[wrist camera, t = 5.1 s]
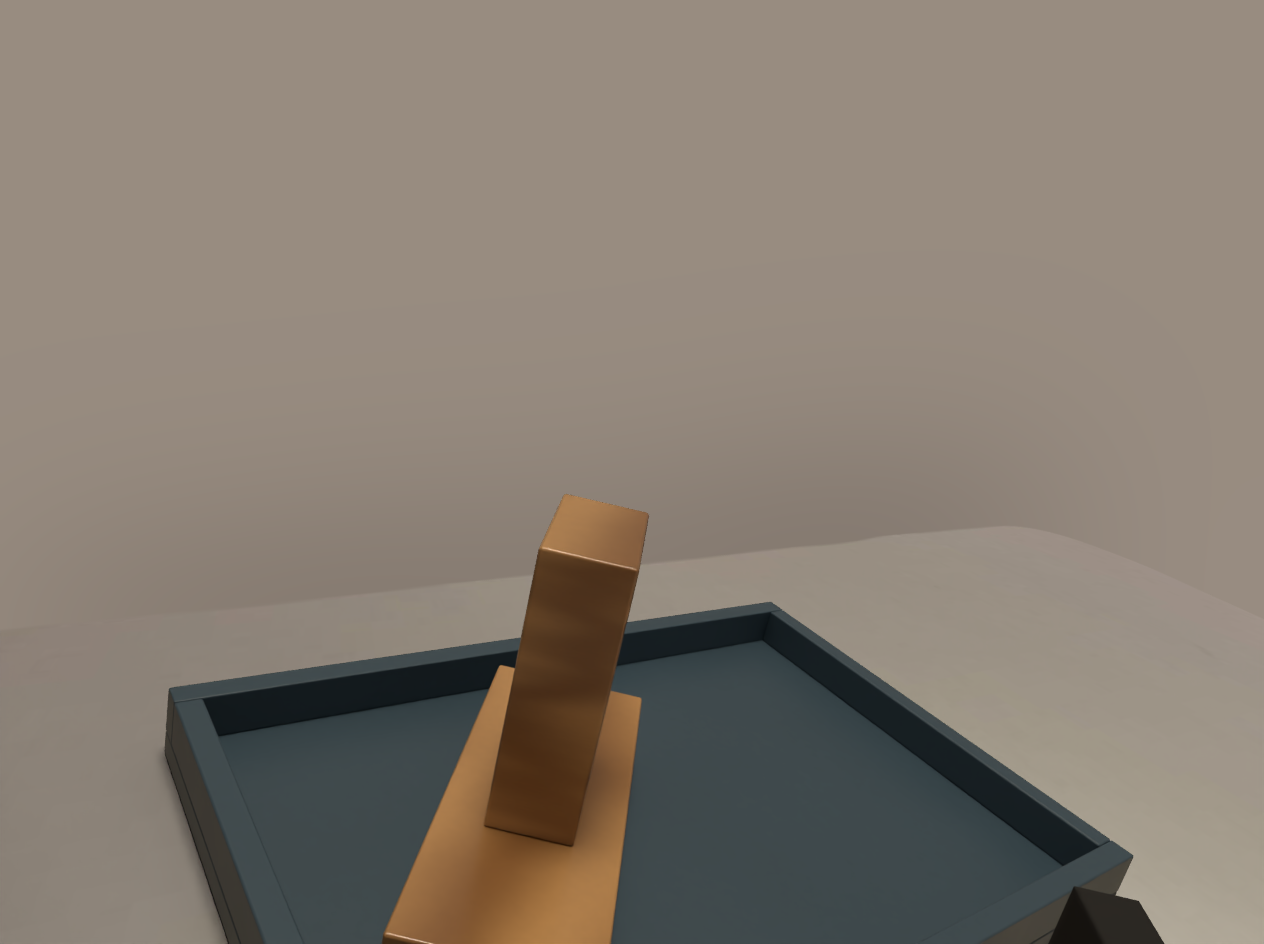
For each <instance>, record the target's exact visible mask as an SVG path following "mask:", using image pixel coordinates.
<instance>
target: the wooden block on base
mask: <svg viewBox="0 0 1264 944" xmlns="http://www.w3.org/2000/svg"><path fill="white" fill-rule="evenodd" d="M648 518H649V515H648V513H646V512H641V511H637V510H633V509H629V508H624V507H620V506H616V505H611V504H607V503H603V502H598V501H594V500H589V499H585V498H581V497H577V496H572V495H568V494H565V495H564V496H563V497H562V500H561V502H560V504H559V506H558V508H557V511H556V513H555V515H554V517H553V519H552V521H551V524H550V526H549V528H548V530H547V532H546V534H545V536H544V539H543V541H542V543H541V545H540V548H539V550H538V555H537V560H536V565H535V570H534V575H533V580H532V585H531V590H530V595H529V600H528V605H527V610H526V615H525V620H524V625H523V630H522V635H521V640H520V645H519V650H518V655H517V660H516V665H515V668H511V667H507V666H503V665H500V666H499V667H498V669H497V672H496V674H495V676H494V679H493V681H492V683H491V686H490V688H489V690H488V693H487V695H486V697H485V699H484V702H483V704H482V706H481V709H480V711H479V713H478V716H477V718H476V720H475V723H474V725H473V727H472V730H471V732H470V734H469V736H468V739H467V741H466V743H465V746H464V748H463V750H462V753H461V755H460V757H459V760H458V762H457V764H456V767H455V769H454V771H453V773H452V776H451V778H450V780H449V783H448V785H447V787H446V790H445V792H444V794H443V797H442V799H441V801H440V804H439V806H438V808H437V811H436V813H435V815H434V817H433V820H432V822H431V824H430V827H429V829H428V831H427V834H426V836H425V838H424V841H423V843H422V845H421V848H420V850H419V852H418V854H417V857H416V859H415V861H414V864H413V866H412V868H411V871H410V873H409V875H408V878H407V880H406V882H405V885H404V887H403V889H402V891H401V894H400V896H399V898H398V901H397V903H396V905H395V908H394V910H393V912H392V915H391V917H390V919H389V922H388V924H387V926H386V928H385V931H384V933H383V937H382V943H381V944H611V941H612V933H613V925H614V917H615V909H616V901H617V893H618V886H619V878H620V870H621V862H622V854H623V846H624V838H625V830H626V823H627V815H628V807H629V799H630V791H631V783H632V775H633V767H634V760H635V752H636V744H637V736H638V728H639V720H640V712H641V704H642V699H641V698H640V697H636V696H631V695H627V694H623V693H618V692H614V691H611V687H612V683H613V679H614V674H615V670H616V666H617V662H618V658H619V654H620V649H621V645H622V641H623V637H624V633H625V628H626V624H627V620H628V616H629V612H630V607H631V603H632V599H633V595H634V591H635V587H636V582H637V578H638V574H639V569H640V563H641V558H642V552H643V546H644V541H645V535H646V529H647V523H648Z"/></svg>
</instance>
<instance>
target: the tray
mask: <svg viewBox="0 0 1264 944" xmlns="http://www.w3.org/2000/svg"><path fill="white" fill-rule="evenodd" d="M520 640H521V638H515V639H508V640H501V641H494V642H487V643H480V644H473V645H466V646H459V647H452V648H445V649H438V650H431V651H424V652H417V653H410V654H403V655H396V656H389V657H382V658H375V659H368V660H361V661H354V662H347V663H340V664H333V665H326V666H319V667H312V668H305V669H298V670H291V671H284V672H277V673H270V674H263V675H256V676H249V677H242V678H235V679H228V680H221V681H214V682H207V683H201V684H194V685H187V686H180V687H173V688H169V694H168V708H167V722H166V730H167V731H166V738H165V754H166V757H167V760H168V763H169V766H170V769H171V772H172V775H173V778H174V781H175V784H176V787H177V790H178V793H179V796H180V798H181V801H182V804H183V807H184V810H185V813H186V816H187V819H188V822H189V825H190V828H191V831H192V834H193V837H194V840H195V843H196V846H197V849H198V852H199V855H200V858H201V861H202V864H203V867H204V870H205V873H206V876H207V879H208V882H209V885H210V888H211V891H212V894H213V897H214V900H215V903H216V906H217V909H218V912H219V915H220V918H221V921H222V923H223V926H224V929H225V932H226V935H227V938H228V941H229V944H381V943H382V937H383V933H384V931H385V928H386V926H387V924H388V922H389V919H390V917H391V915H392V912H393V910H394V908H395V905H396V903H397V901H398V898H399V896H400V894H401V891H402V889H403V887H404V885H405V882H406V880H407V878H408V875H409V873H410V871H411V868H412V866H413V864H414V861H415V859H416V857H417V854H418V852H419V850H420V848H421V845H422V843H423V841H424V838H425V836H426V834H427V831H428V829H429V827H430V824H431V822H432V820H433V817H434V815H435V813H436V811H437V808H438V806H439V804H440V801H441V799H442V797H443V794H444V792H445V790H446V787H447V785H448V783H449V780H450V778H451V776H452V773H453V771H454V769H455V767H456V764H457V762H458V760H459V757H460V755H461V753H462V750H463V748H464V746H465V743H466V741H467V739H468V736H469V734H470V732H471V730H472V727H473V725H474V723H475V720H476V718H477V716H478V713H479V711H480V709H481V706H482V704H483V702H484V699H485V697H486V695H487V693H488V690H489V688H490V686H491V683H492V681H493V679H494V676H495V674H496V672H497V669H498V667H499V666H500V665H503V666H507V667H511V668H515V665H516V660H517V655H518V650H519V645H520ZM611 691H614V692H618V693H623V694H627V695H631V696H636V697H640V698H641V699H642V704H641V712H640V720H639V728H638V736H637V744H636V752H635V760H634V767H633V775H632V783H631V791H630V799H629V807H628V815H627V823H626V830H625V838H624V846H623V854H622V862H621V870H620V878H619V886H618V893H617V901H616V909H615V917H614V925H613V933H612V941H611V944H1048V943H1049V941H1050V939H1051V936H1052V934H1053V932H1054V930H1055V927H1056V925H1057V923H1058V921H1059V918H1060V916H1061V914H1062V912H1063V909H1064V907H1065V905H1066V903H1067V900H1068V898H1069V896H1070V894H1071V891H1072V889H1073V887H1074V886H1076V887H1081V888H1085V889H1089V890H1093V891H1098V892H1102V893H1106V894H1111V895H1116V892H1117V891H1118V889H1119V887H1120V885H1121V882H1122V880H1123V878H1124V876H1125V874H1126V872H1127V870H1128V867H1129V865H1130V863H1131V861H1132V859H1133V855H1132V854H1130V853H1129V852H1128V851H1126V850H1125V849H1123V848H1122V847H1120V846H1119V845H1118V844H1116V843H1115V842H1113V841H1110V839H1109V838H1107V837H1106V836H1105V835H1103V834H1102V833H1100V832H1099V831H1097V830H1096V829H1095V828H1093V827H1092V826H1090V825H1089V824H1087V823H1086V822H1085V821H1083V820H1082V819H1080V818H1079V817H1077V816H1076V815H1075V814H1073V813H1072V812H1070V811H1069V810H1067V809H1066V808H1065V807H1063V806H1062V805H1060V804H1059V803H1057V802H1056V801H1055V800H1053V799H1052V798H1050V797H1049V796H1047V795H1046V794H1044V793H1043V792H1042V791H1040V790H1039V789H1037V788H1036V787H1034V786H1033V785H1032V784H1030V783H1029V782H1027V781H1026V780H1024V779H1023V778H1022V777H1020V776H1019V775H1017V774H1016V773H1014V772H1013V771H1012V770H1010V769H1009V768H1007V767H1006V766H1004V765H1003V764H1002V763H1000V762H999V761H997V760H996V759H994V758H993V757H992V756H990V755H989V754H987V753H986V752H984V751H983V750H982V749H980V748H979V747H977V746H976V745H974V744H973V743H972V742H970V741H969V740H967V739H966V738H964V737H963V736H962V735H960V734H959V733H957V732H956V731H954V730H953V729H952V728H950V727H949V726H947V725H946V724H944V723H943V722H942V721H940V720H939V719H937V718H936V717H934V716H933V715H932V714H930V713H929V712H927V711H926V710H924V709H923V708H922V707H920V706H919V705H917V704H916V703H914V702H913V701H912V700H910V699H909V698H907V697H906V696H904V695H903V694H902V693H900V692H899V691H897V690H896V689H894V688H893V687H892V686H890V685H889V684H887V683H886V682H884V681H883V680H882V679H880V678H879V677H877V676H876V675H874V674H873V673H871V672H870V671H869V670H867V669H866V668H864V667H863V666H861V665H860V664H859V663H857V662H856V661H854V660H853V659H851V658H850V657H849V656H847V655H846V654H844V653H843V652H841V651H840V650H839V649H837V648H836V647H834V646H833V645H831V644H830V643H829V642H827V641H826V640H824V639H823V638H821V637H820V636H819V635H817V634H816V633H814V632H813V631H811V630H810V629H809V628H807V627H806V626H804V625H803V624H801V623H800V622H799V621H797V620H796V619H794V618H793V617H791V616H790V615H789V614H787V613H786V612H784V611H782V609H780V608H779V607H777V606H776V605H775V604H773V603H772V602H766V603H759V604H752V605H745V606H738V607H731V608H724V609H717V610H710V611H703V612H696V613H689V614H682V615H675V616H668V617H661V618H654V619H648V620H641V621H634V622H627V624H626V628H625V633H624V637H623V641H622V645H621V649H620V654H619V658H618V662H617V666H616V670H615V674H614V679H613V683H612V687H611Z"/></svg>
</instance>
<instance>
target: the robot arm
mask: <svg viewBox="0 0 1264 944" xmlns="http://www.w3.org/2000/svg"><path fill="white" fill-rule="evenodd" d="M1048 944H1164V942H1163V941H1162V939H1161V937H1160V936H1159V934H1158V932H1157V931H1156V929H1155V927H1154V926H1153V924H1152V922H1151V921H1150V919H1149V917H1148V916H1147V914H1146V912H1145V911H1144V909H1143V907H1142V906H1141V904H1140V902H1139V901H1136V900H1132V899H1128V898H1123V897H1119V896H1115V895H1111V894H1106V893H1102V892H1098V891H1093V890H1089V889H1085V888H1081V887H1076V886H1074V887H1073V889H1072V891H1071V894H1070V896H1069V898H1068V900H1067V903H1066V905H1065V907H1064V909H1063V912H1062V914H1061V916H1060V918H1059V921H1058V923H1057V925H1056V927H1055V930H1054V932H1053V934H1052V936H1051V939H1050V941H1049V943H1048Z"/></svg>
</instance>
